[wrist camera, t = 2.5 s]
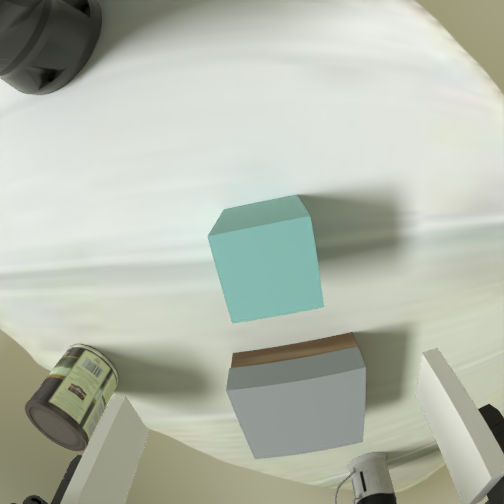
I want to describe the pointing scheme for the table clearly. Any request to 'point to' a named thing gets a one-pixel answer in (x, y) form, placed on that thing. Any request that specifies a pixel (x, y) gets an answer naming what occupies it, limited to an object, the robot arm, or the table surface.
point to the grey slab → (300, 403)
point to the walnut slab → (294, 351)
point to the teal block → (267, 259)
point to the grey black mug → (370, 480)
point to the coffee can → (73, 397)
